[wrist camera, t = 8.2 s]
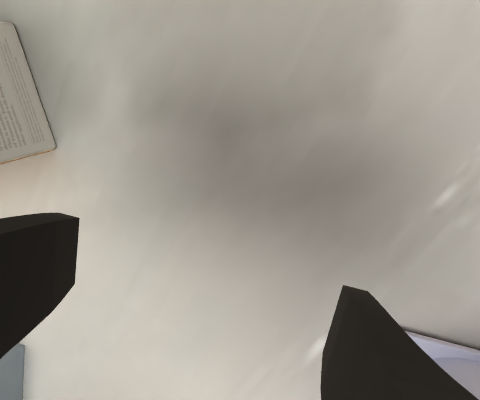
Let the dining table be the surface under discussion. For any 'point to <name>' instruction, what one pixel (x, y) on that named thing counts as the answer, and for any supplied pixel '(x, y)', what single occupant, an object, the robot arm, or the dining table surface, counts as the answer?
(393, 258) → the dining table surface
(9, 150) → the small box
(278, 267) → the dining table surface
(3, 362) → the slate-blue cube
